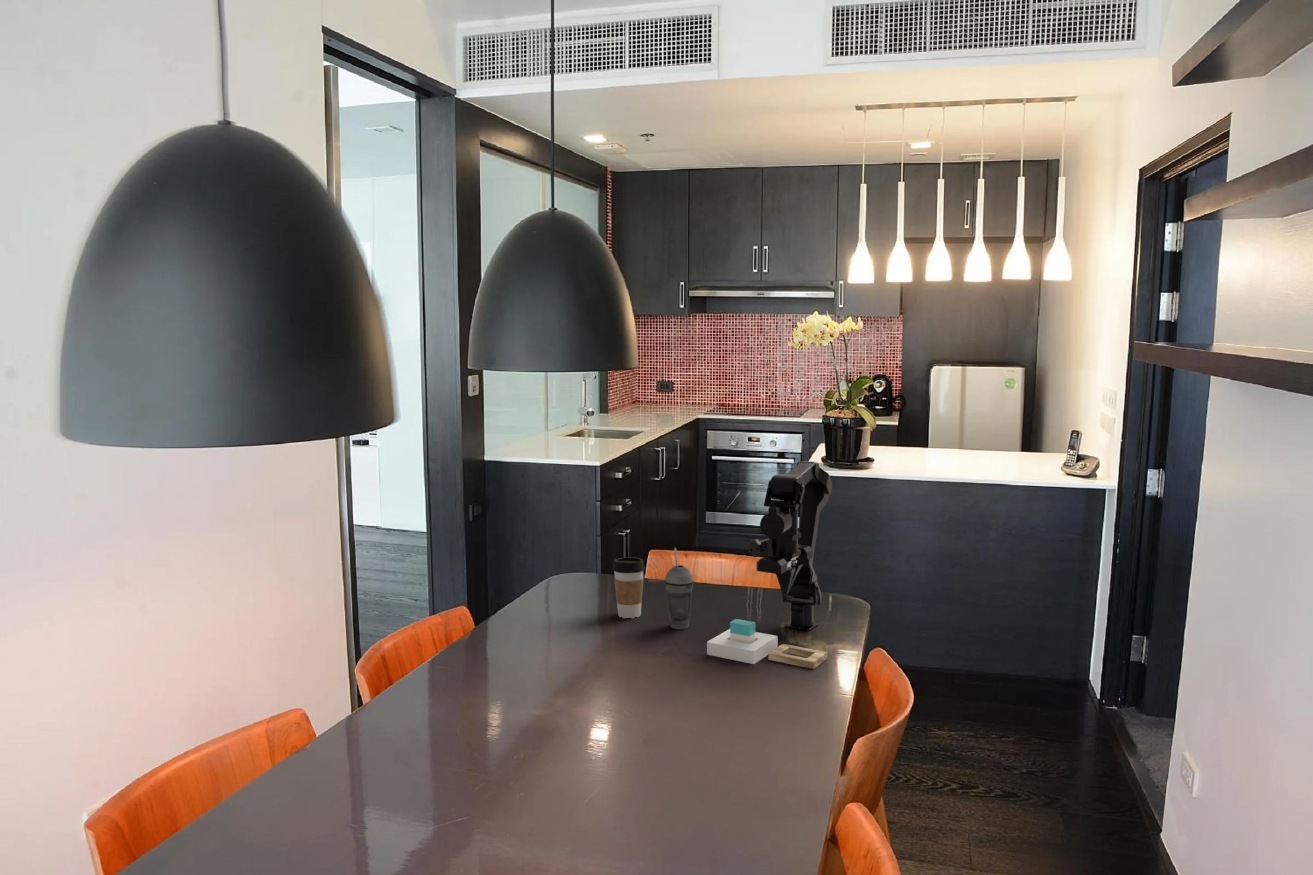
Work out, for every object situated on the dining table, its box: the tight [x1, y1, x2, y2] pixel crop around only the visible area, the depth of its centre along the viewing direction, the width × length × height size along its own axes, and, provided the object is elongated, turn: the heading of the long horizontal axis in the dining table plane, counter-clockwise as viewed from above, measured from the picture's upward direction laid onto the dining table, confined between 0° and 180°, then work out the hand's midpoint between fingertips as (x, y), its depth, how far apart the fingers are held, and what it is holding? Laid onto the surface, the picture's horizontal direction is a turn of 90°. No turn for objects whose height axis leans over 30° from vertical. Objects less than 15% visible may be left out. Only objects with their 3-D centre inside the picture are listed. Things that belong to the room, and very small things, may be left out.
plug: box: [729, 618, 756, 644], centre depth 216 cm, size 3×5×7 cm, turn 58°
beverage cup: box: [664, 547, 695, 630], centre depth 234 cm, size 7×7×20 cm
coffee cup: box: [612, 556, 646, 619], centre depth 244 cm, size 8×8×15 cm
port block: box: [706, 628, 779, 665], centre depth 217 cm, size 12×12×3 cm
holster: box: [768, 643, 828, 670], centre depth 211 cm, size 7×11×2 cm
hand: (785, 594), depth 220 cm, fingers closed
